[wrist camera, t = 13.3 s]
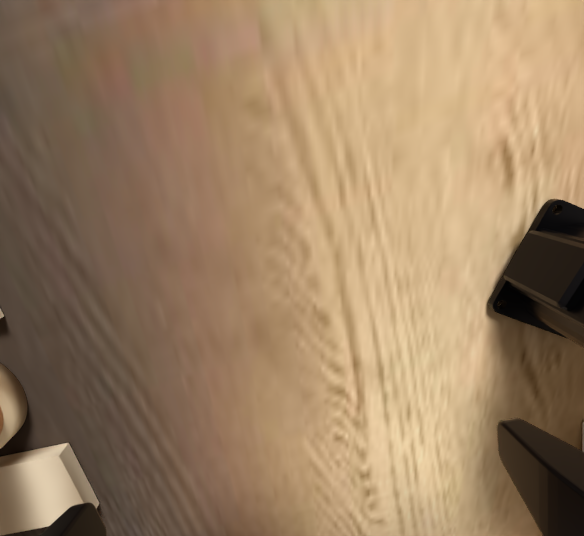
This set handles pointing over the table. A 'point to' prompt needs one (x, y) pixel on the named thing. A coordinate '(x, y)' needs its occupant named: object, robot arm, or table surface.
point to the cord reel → (11, 405)
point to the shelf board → (40, 487)
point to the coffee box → (583, 436)
